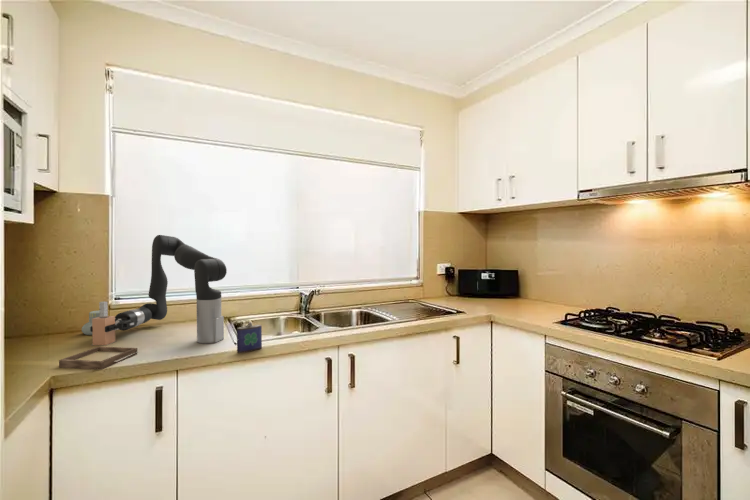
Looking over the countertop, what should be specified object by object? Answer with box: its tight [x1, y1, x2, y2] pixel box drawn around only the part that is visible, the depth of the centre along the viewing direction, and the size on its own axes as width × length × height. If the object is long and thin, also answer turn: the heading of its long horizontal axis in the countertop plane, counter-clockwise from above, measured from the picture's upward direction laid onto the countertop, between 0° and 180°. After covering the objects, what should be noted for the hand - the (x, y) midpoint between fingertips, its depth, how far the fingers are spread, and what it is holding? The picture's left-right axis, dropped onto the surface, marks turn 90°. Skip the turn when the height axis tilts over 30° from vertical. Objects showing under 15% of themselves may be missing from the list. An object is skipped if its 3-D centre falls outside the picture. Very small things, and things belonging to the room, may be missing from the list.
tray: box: [58, 345, 138, 370], centre depth 124 cm, size 15×15×2 cm
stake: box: [91, 300, 117, 347], centre depth 141 cm, size 6×6×17 cm
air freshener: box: [81, 310, 100, 336], centre depth 157 cm, size 11×8×10 cm
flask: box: [236, 321, 263, 354], centre depth 136 cm, size 9×3×11 cm, turn 130°
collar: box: [91, 315, 116, 346], centre depth 141 cm, size 5×5×10 cm
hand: (98, 329), depth 138 cm, fingers closed on collar, 5 cm apart
